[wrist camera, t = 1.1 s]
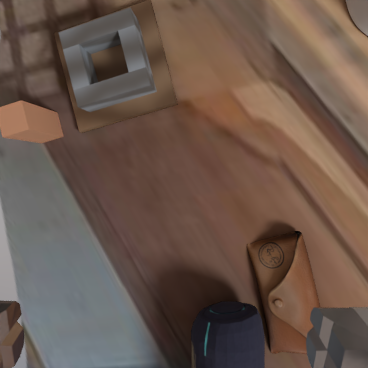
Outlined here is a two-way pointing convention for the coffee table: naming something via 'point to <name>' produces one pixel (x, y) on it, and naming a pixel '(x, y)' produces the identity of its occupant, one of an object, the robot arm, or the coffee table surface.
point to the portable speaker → (228, 337)
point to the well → (115, 67)
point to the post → (29, 122)
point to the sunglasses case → (285, 290)
